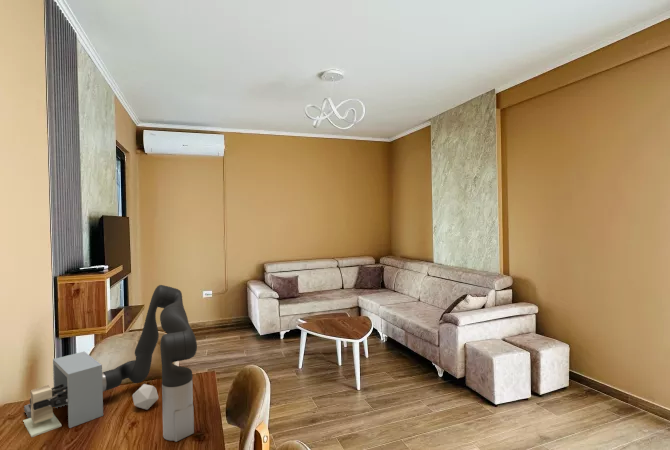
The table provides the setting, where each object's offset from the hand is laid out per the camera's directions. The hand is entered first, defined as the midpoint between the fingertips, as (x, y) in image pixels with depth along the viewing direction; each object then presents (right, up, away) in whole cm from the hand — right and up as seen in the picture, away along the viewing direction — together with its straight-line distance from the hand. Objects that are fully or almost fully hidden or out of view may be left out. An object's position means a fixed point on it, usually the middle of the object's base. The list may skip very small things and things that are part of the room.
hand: (31, 404), depth 122 cm
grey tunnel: (+9, -8, +10) cm, 15 cm away
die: (+32, -8, +13) cm, 35 cm away
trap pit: (-6, -8, +10) cm, 14 cm away
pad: (+2, -8, +2) cm, 8 cm away
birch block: (+2, -6, +2) cm, 7 cm away
